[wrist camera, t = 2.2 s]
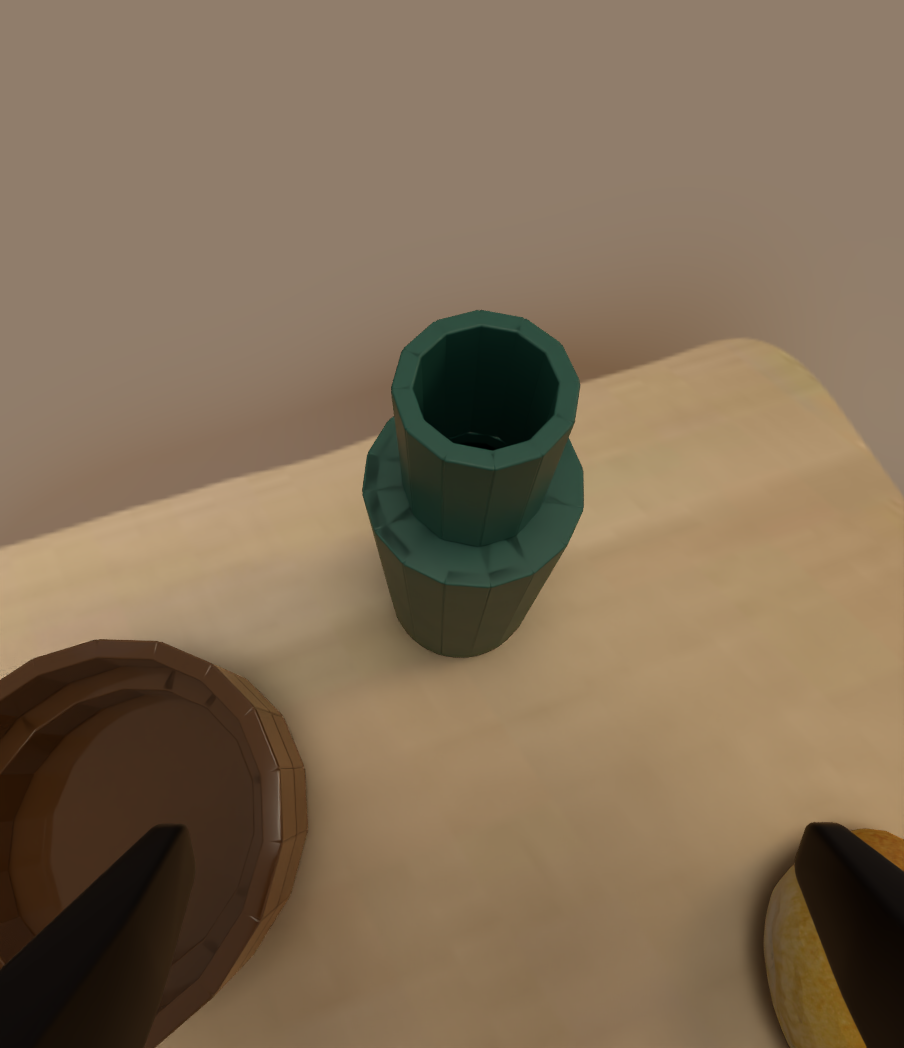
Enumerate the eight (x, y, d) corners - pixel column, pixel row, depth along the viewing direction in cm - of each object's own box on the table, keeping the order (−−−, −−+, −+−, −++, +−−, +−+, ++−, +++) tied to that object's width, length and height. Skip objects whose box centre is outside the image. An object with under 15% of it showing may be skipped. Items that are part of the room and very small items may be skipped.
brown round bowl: (347, 940, 20) (325, 984, 16) (-13, 1081, 18) (-138, 1168, 14) (275, 622, 23) (242, 594, 19) (-28, 716, 22) (-129, 706, 18)
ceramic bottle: (547, 632, 23) (683, 470, 10) (414, 676, 23) (385, 561, 10) (500, 511, 25) (566, 245, 12) (376, 548, 25) (307, 307, 12)
